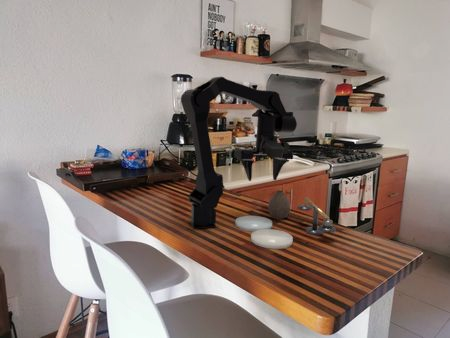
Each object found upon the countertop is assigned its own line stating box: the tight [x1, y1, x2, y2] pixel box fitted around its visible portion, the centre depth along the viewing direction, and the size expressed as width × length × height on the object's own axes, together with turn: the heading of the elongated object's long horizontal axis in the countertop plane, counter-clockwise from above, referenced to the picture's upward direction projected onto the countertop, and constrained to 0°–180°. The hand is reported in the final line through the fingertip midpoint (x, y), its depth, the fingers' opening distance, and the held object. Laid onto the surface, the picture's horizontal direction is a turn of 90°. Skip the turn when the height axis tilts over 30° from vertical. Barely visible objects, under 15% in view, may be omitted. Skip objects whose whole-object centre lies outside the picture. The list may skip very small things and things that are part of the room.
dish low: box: [250, 228, 294, 250], centre depth 90 cm, size 11×11×1 cm
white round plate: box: [235, 215, 273, 233], centre depth 102 cm, size 11×11×1 cm
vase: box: [267, 190, 291, 220], centre depth 110 cm, size 7×7×9 cm
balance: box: [297, 196, 337, 236], centre depth 97 cm, size 16×5×9 cm, turn 18°
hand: (262, 180), depth 110 cm, fingers open, 9 cm apart
